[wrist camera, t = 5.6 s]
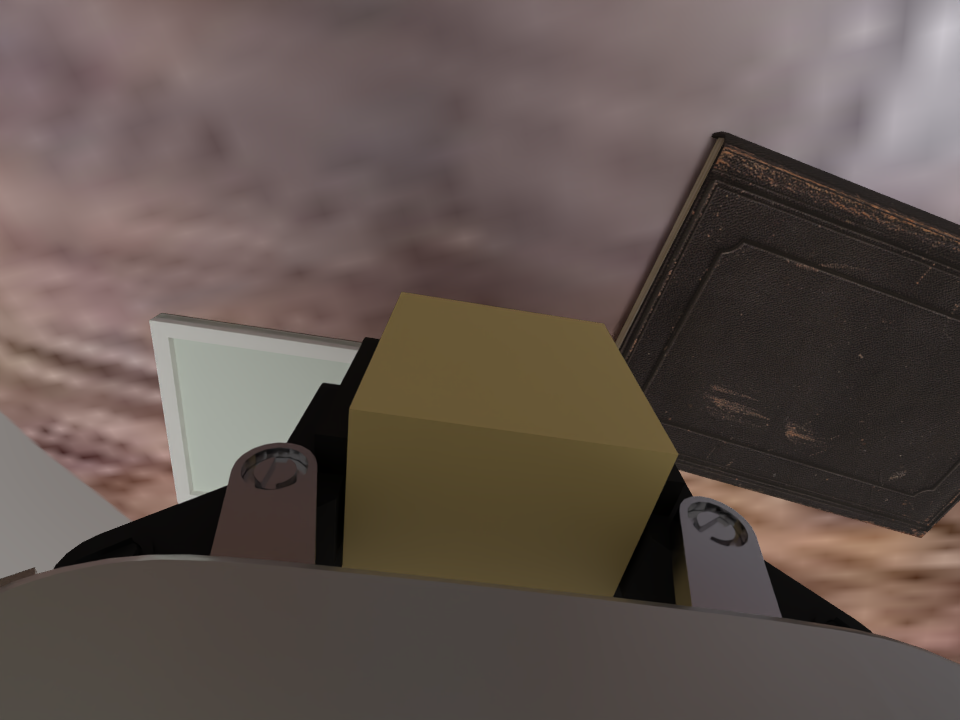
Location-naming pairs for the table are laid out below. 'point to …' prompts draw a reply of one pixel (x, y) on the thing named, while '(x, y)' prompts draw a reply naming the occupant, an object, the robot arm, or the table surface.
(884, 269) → the hardcover book
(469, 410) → the ochre cube
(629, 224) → the table surface
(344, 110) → the table surface
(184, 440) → the mat
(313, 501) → the robot arm
